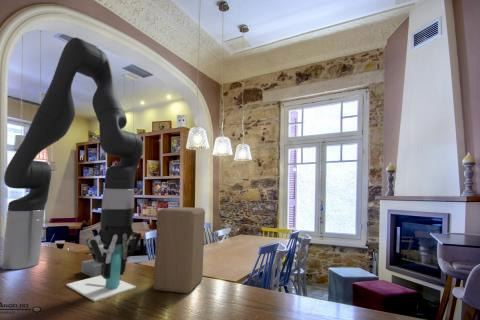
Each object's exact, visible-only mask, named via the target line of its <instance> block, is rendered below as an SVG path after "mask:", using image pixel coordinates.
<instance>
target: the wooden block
mask: <svg viewBox="0 0 480 320" xmlns="http://www.w3.org/2000/svg"><path fill="white" fill-rule="evenodd" d="M205 217H206V210H205V208H203V207H188V206H187V207H185V206H173V207H166V208H160V209H158V211H157V219H156V235H155V253H154V269H153V284H152V285H153V287H152V288H153V290H155V291H163V292H172V293H173V292H174V293H181V294H190V293H191V292H192V291H193V290H194V289H195V288H196V287H197V286H198V285H199V284H200V283H201V282H202V280H203V273H204V272H203V269H204V249H205V248H204V246H205V245H204V244H205V226H206V225H205V222H206V221H205V220H206V219H205Z"/></svg>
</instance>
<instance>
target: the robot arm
mask: <svg viewBox="0 0 480 320" xmlns="http://www.w3.org/2000/svg"><path fill="white" fill-rule="evenodd" d="M77 73H78V74H81V75H82V76H83V75H84V76H86V77H88V78H91V79H92V80H93V82H94V83H95V85H96V89H95V91H94V94H93V96H92V107H93V108H92V109H93V111H94V114H95V116H96V119H97V121H98V126H99V129H98V131H99V145H100V147H101V149H102V151H103V152H104V153H105V154H107V155H109V156H113V157H119V158H120V160H119V163H118V164H117V165H112V166H108V167H107V168H106V171H105V176H104V189H103V194H102V198H101V199H102V200H101V210H100V222H99V223H100V225H99V226H100V228H99V231H98V233H97V235H95V236H94V237H92V238H87V239H86V241H85V242H86V244H87V247H88V249H89V253H90V254H91V257H92V259H93V260H94V261H97V262H100V263H102V265H101V276H102V277H103V278H104V279H109V278H110V270H111V263H110V261H111V256H112V253H113V252H114V248H115V245H118V244H122V258H121V272H120V276H123V275H124V273H125V271H126V264H127V259H128V258H129V257H132V256H134V253H135V251H136V249H137V246H138V245H139V243H140V240H141V237H142V232H141V233H140V232H137V231H136V232H135V231H134V230H133V227H132V226H133V223H134V209H135V180H136V179H135V178H136V172H137V169H138V168H139V165H140V161H141V158H142V155H143V152H144V142H143V140H142V137H141V136H140V135H138V134H137V133H134V132H132V131H131V132H130V131H127V130H123V129H124V128H125V127H126V125H127V123H128V119H127V116H126V114H125V111H124V109H123V106H122V104H121V102H120V99H119V96H118V94H117V91H116V86H115V81H114V77H113V71H112V68H111V63H110V59H109V57H108V55H107V54H106V52H104V51H103V50H102V49H100V48H98V47H96V46H94V45H93V44H91V43H89V42H87V41H85V40H84V39H82V38H80V37H73V38H70V39H69V40H68V41H67V43H66V44H65V46H64V48H63V49H62V51H61V54H60V57H59V59H58V63H57V65H56V68H55V71H54V74H53V77H52V79H51V81H50V85H49V86H48V88H47V90H46V93H45V94H44V97H43V99H42V100H41V101H40V104H39V107H38V109H37V110H36V111H35V112H36V113H35V114H34V117H33V119H32V122H31V123H30V126H29V128H28V130H27V132H26V134H25V137H24V138H23V140H22V142H21V144H20V145H19V147H18V148H17V150H16V151H15V153H14V154H13V156H12V158H11V159H10V161H9V163H8V164H7V166H6V168H5V172H4V176H3V179H4V180H3V182H4V184H5V185H6V187H8V188H9V189H22V190H26V189H27V190H28V189H29V192H28V193H27V194H25V195H24V196H22V197H19V198H17V199H13V200H11V201H9V202H8V204H7V205H8V206H7V214H6V222H5V230H4V239H3V246H2V253H1V261H0V269H1V268H3V269H2V270H5V269H12V270H21V269H26V268H32V267H34V266H37V265H38V264H40V259H41V258H40V257H41V247H42V239H43V230H44V229H43V228H44V220H45V210H46V209H45V208H46V205H47V201H48V198H49V191H50V187H51V180H52V168H51V166H50V164H49V163H48V162H46V161H39V160H35V158H36V157H37V156H38V155H39V154H40V153H42V151H44V150H45V149H47V148H48V147H50V146H52V145H53V144H55V143H56V142H58V141H59V140H61V139H62V138H63V137H64V136H66V134H67V133H68V131H69V130H70V127H71V126H72V123H73V121H74V119H75V116H76V109H75V105H74V103H75V102H74V99H73V93H72V84H73V81H74V79H75V76H76V74H77ZM100 242H101V243H102V245H103V247H102V254H101V251H100V249H99V246H98V245H101V244H100ZM108 248H109V249H108Z"/></svg>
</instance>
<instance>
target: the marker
mask: <svg viewBox="0 0 480 320" xmlns="http://www.w3.org/2000/svg"><path fill="white" fill-rule="evenodd" d="M108 249H109V248H108ZM121 258H122V244H118V245H115V248H114V252H113V253H112V256H111V261H110V263H111V270H110V278H109V279H106V284H105V287H108V288H112V287H117V286H119V285H120V280H121V275H120V272H121Z"/></svg>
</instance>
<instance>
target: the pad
mask: <svg viewBox="0 0 480 320" xmlns="http://www.w3.org/2000/svg"><path fill="white" fill-rule="evenodd" d="M105 284H106V279H104V278H103V277H102V276H101V275H100V276H96V277H89V278H85V279H82V280H77V281H74V282H70V283H66V287H67V288H69V289H71V290H73V291H75V292H77V293H78V294H80V295H82V296H84V297H85V298H87V299H89V300H90V301H93V302H99V301H101V300H104V299H106V298H107V299H108V298H111V297H114V296H117V295H119V294H123V293H126V292H129V291H132V290H135V289H137V286H136V285H133V284H131V283H128V282H126V281H123V280H121V279H120V285H119V286H117V287H112V288H108V287H105Z"/></svg>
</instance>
